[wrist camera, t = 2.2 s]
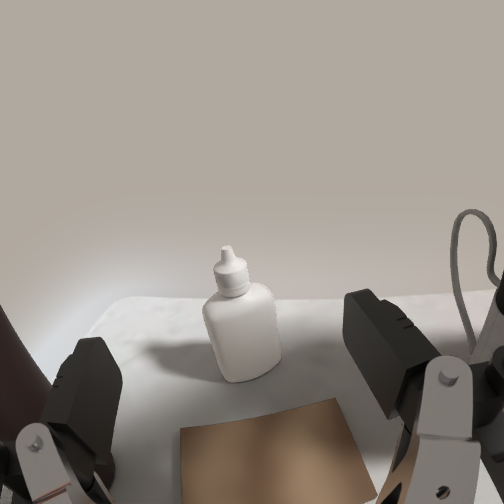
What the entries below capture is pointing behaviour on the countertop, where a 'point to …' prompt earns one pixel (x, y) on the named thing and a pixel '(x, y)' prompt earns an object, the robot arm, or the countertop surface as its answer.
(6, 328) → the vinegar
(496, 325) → the glass holder
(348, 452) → the walnut board
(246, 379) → the eye dropper bottle
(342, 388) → the countertop surface
